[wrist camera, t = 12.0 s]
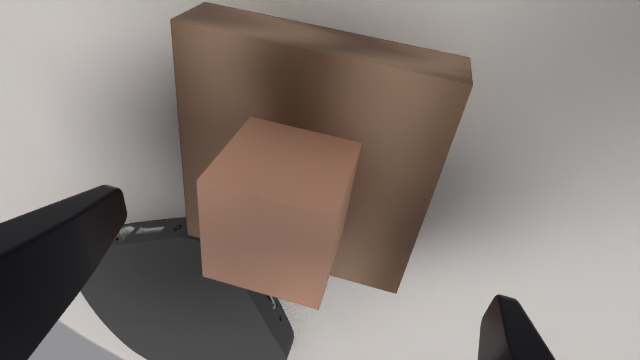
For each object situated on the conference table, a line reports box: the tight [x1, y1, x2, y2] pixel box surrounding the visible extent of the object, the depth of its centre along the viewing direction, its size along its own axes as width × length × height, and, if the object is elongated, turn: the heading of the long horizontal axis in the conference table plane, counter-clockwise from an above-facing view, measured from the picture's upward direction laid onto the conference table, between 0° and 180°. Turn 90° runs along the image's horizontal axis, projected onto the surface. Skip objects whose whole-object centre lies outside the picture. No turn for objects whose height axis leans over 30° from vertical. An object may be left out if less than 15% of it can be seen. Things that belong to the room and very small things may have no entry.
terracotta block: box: [197, 117, 362, 310], centre depth 18 cm, size 5×5×5 cm
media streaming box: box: [81, 218, 294, 360], centre depth 32 cm, size 15×15×3 cm
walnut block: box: [170, 2, 473, 294], centre depth 21 cm, size 12×12×3 cm
